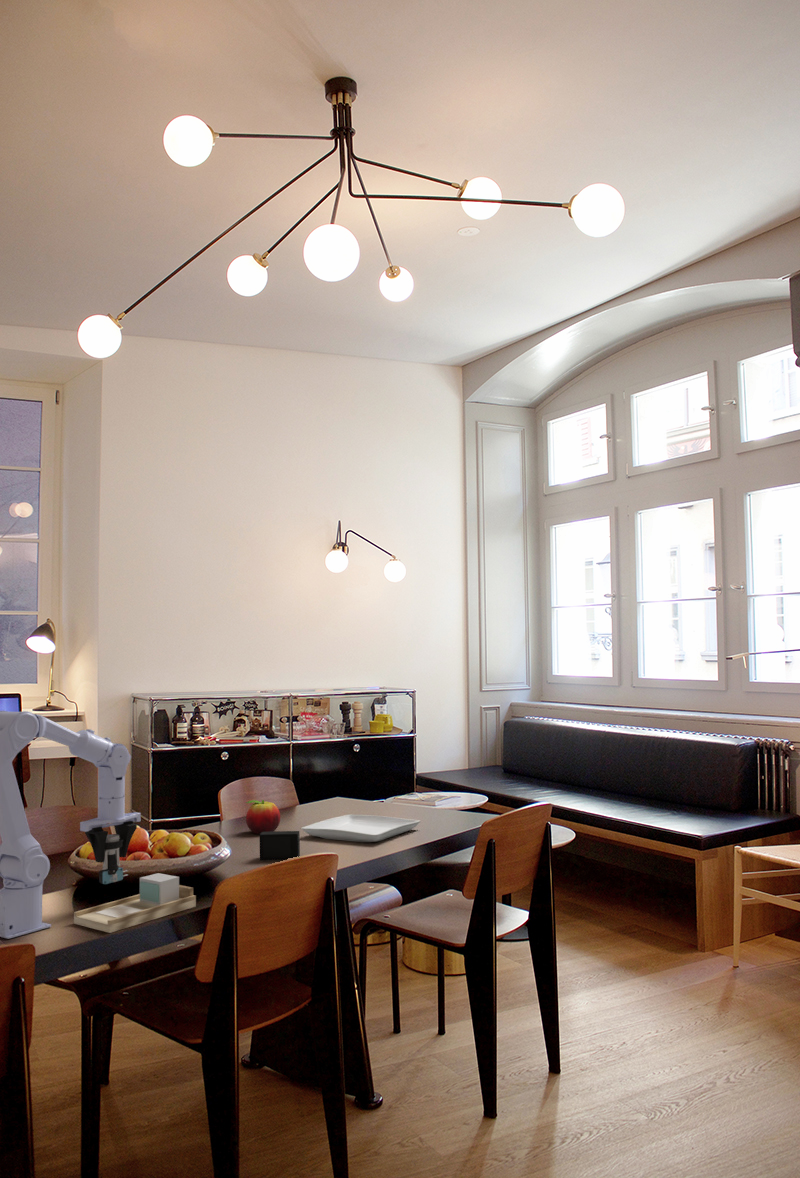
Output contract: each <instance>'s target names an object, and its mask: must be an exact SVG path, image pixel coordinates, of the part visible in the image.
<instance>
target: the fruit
mask: <svg viewBox="0 0 800 1178" xmlns="http://www.w3.org/2000/svg"><path fill="white" fill-rule="evenodd" d="M245 803H246V804H250V803H252V804H251V805H250V807H249V808H248V810H247V811H246V816H245V822H246V825H247V827H248V829H249V831H251V832H252V833H254V834H256V835H257V834H258V835H260V834H261V833H262V832H270V831H276V830H277V828H278V827H279V825H280V822H281V813H280V809H279V808H278V806H277V805H276V804H275V803H274V802H270V801H264V799H261V801H259V800H255V799H253V800H249V801H246V802H245Z"/></svg>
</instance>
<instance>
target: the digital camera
mask: <svg viewBox="0 0 800 1178" xmlns="http://www.w3.org/2000/svg"><path fill="white" fill-rule="evenodd" d="M300 840H301V839H300V830H284V831H283V830H282V831H281V830H280V831H279V830H278V831H276V830H275V831H270V832H262V833H261V834H259V861H260V862H261V861H263V862H264V861H265V862H268V861H286V860H285V859H288V858H293V857H297V856H301V852H300V851H301V850H300V849H301V847H300V846H301V845H300Z"/></svg>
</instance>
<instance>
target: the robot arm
mask: <svg viewBox="0 0 800 1178" xmlns="http://www.w3.org/2000/svg"><path fill="white" fill-rule="evenodd" d="M95 733H96V732H95V730H94V729H92V728H91V729H90V728H87V729H86V730H85V729H81V730H79V731H74V730H72V729H69V728H68V727H66V726H63V725H61V724H59V723H57V722H55V721H53V720H51V719H50V718H47V717H45V716H43V715H41V714H36V713H33V712H31V711H28V710H27V711H26V710H23V711H8V710H0V839H1V842H2V843H1V844H0V877H1V878H2V879H3V880H2V881H3V882H2V883H3V884H2V885H3V887H2V888H0V937H1V938H4V939H13V938H16V937H20V936H24V935H27V934H30V933H34V932H37V931H41V930H43V929H48V928H51V927H52V924H51V923H48V922H44V921H43V885H44V880H45V879H46V878H47V876H48V874H49V872H50V869H51V863H50V859H49V858H48V856H47V855H46V854H45V853H44V852H43V849H42V847H41V844H40V843H39V842H38V841H37V839H36V838H35V837H34V836H33V835H32V834H31V829H30V826H29V821H28V819H27V814H26V811H25V808H24V803H23V800H22V796H21V792H20V789H19V785H18V780H17V777H16V773H15V770H14V766H13V761H14V759H15V758H16V756H17V755H18V754H19V753H20V752H21V751H22V750H23V749H24V748H25V747H26V746H27V745H29V744H30V743H31V742H32V741H33V740H34V739H35V738H41V737H42V738H44V739H47V740H50V741H53V742H56V743H57V744H61V745H64V746H67V747H68V750H69V752H70V754H71V755H73V756H76V758H77V757H78V758H80V759H83V760H85V761H87V762H89V763H92V764H93V765H94V766H95V767H96V768H97V769H98V770H97V771H98V772H97V777H98V778H97V817H95V818H91V819H88V820H84V821H80V822H79V827H80V828H79V831H80V832H84V834H85V836H86V837H87V839H88V841H89V843H90V845H91V849H92V852H93V854H94V860H95V862H96V863H102V864H103V862H104V859H105V843H106V838H107V835H109V832H108V830H104V828H108V827H109V828H110V827H114V830H115V834H118V835H119V837H120V838H123V842H122V844H123V846H122V847H120V848H119V858H123V859H124V858H126V857H127V854H128V850H129V846H130V843H131V840H132V837H133V836H134V834H135V832H136V830H137V827H138V826H137V825H138V824H137V823H139V822H141V820H142V819H141V817H142V816H141V814H142V813H141V812H136V811H134V812H127V813H125V812H126V811H125V810H126V809H125V808H126V807H125V806H126V805H125V803H126V799H125V797H126V794H125V793H126V788H125V787H126V774H127V768H128V765H129V764H130V762H131V759H132V755H131V754H130V752H129V750H128V748H127V746H126V745H124V744H123V743H116V742H115V743H113V742H112V741H111V740H112V739H111V738H110V737H102V736H100V735H98V734H95Z"/></svg>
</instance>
